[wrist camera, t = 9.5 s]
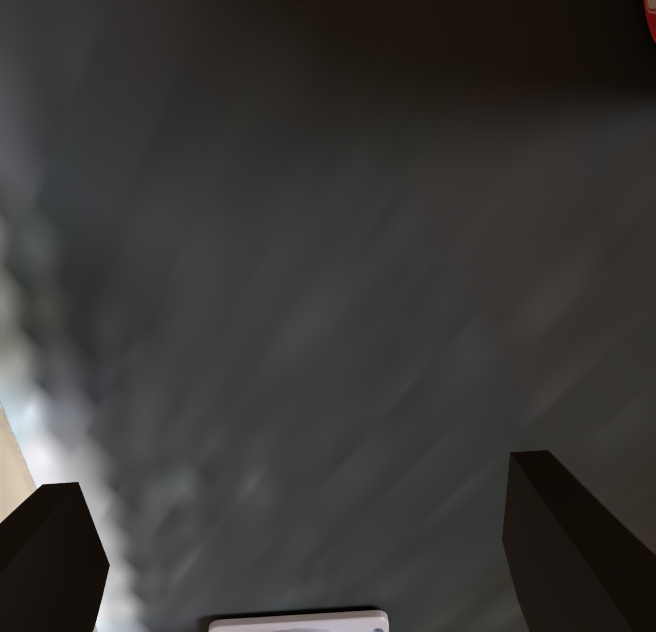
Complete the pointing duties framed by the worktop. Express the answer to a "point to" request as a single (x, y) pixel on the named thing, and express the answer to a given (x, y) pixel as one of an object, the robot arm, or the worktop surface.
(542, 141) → the worktop surface
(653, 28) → the soda can
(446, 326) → the worktop surface
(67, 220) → the worktop surface
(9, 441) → the bore box
